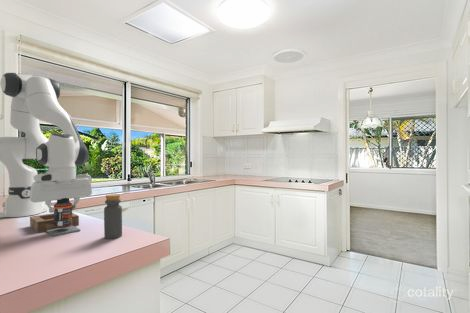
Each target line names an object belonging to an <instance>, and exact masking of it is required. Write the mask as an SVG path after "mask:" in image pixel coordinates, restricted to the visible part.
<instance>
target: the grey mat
mask: <svg viewBox="0 0 470 313" xmlns="http://www.w3.org/2000/svg"><path fill="white" fill-rule="evenodd" d="M80 231H81V229H80V228H78V227H77V226H70V227H66V228H56V229H51V230H47V231H46V233H48V234H49V235H50V236H51V237H57V236H58V237H59V236H62V235H67V234H72V233H77V232H80Z"/></svg>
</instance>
